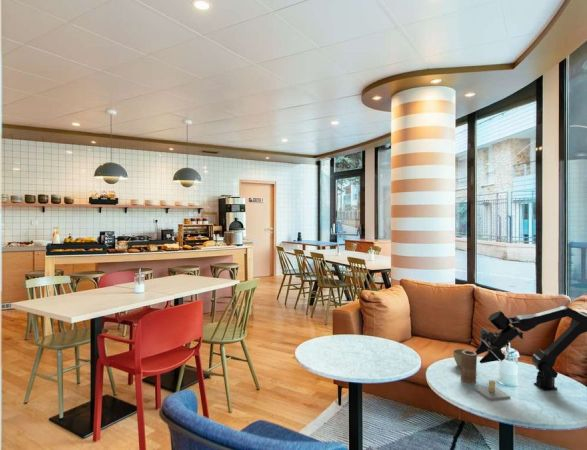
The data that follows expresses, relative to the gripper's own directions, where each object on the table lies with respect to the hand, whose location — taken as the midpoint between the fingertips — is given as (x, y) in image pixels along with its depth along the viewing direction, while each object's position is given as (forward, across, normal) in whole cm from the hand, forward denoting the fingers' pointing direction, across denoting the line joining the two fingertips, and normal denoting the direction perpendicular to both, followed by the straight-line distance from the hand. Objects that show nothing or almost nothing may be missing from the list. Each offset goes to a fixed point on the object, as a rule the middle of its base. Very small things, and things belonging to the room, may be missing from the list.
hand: (477, 358), depth 179 cm
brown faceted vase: (+10, 0, +5) cm, 11 cm away
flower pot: (+9, -16, +6) cm, 19 cm away
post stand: (+5, +11, +10) cm, 16 cm away
